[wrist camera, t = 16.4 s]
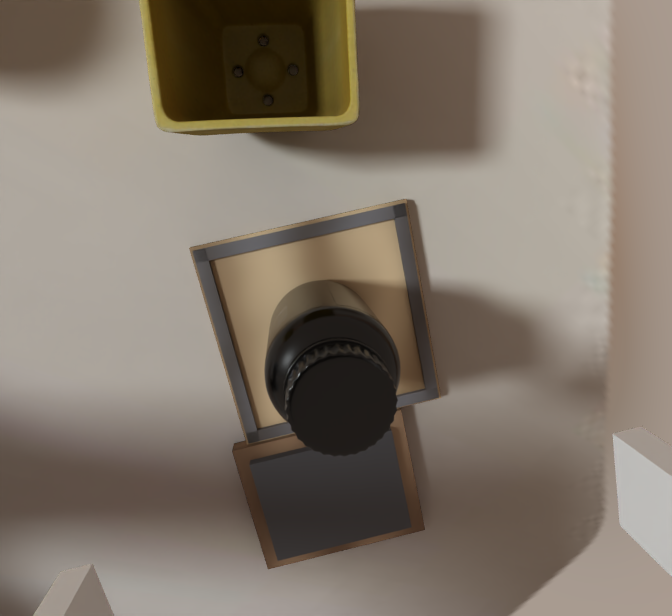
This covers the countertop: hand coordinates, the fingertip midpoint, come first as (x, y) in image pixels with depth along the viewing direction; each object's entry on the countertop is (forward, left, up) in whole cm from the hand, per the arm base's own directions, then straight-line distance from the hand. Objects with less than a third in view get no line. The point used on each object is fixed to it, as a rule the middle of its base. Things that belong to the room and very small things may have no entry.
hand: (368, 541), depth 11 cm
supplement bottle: (0, 0, -20) cm, 20 cm away
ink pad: (-2, -12, -21) cm, 24 cm away
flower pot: (0, +16, -21) cm, 26 cm away
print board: (0, 0, -21) cm, 21 cm away
